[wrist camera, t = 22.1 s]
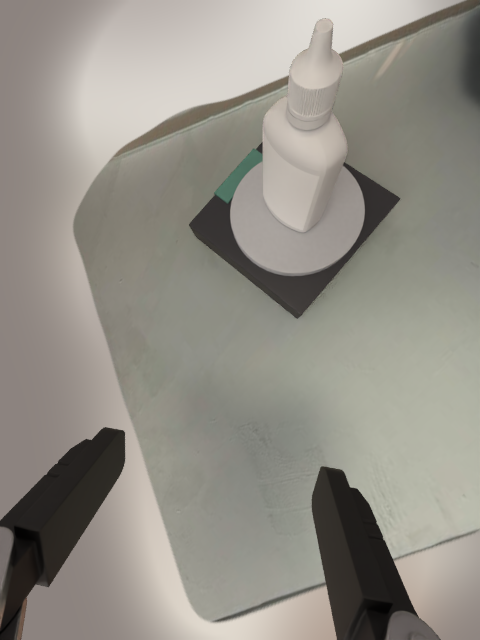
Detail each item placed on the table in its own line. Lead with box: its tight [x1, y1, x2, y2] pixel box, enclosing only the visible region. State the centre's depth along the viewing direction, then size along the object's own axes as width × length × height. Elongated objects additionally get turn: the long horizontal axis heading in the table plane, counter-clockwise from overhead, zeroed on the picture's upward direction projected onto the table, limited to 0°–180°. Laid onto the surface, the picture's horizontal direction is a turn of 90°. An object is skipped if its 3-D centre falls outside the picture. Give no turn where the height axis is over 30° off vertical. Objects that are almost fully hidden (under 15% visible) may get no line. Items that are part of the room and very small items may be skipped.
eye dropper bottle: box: [263, 18, 347, 232], centre depth 15 cm, size 4×6×12 cm
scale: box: [189, 142, 400, 319], centre depth 23 cm, size 14×14×3 cm
